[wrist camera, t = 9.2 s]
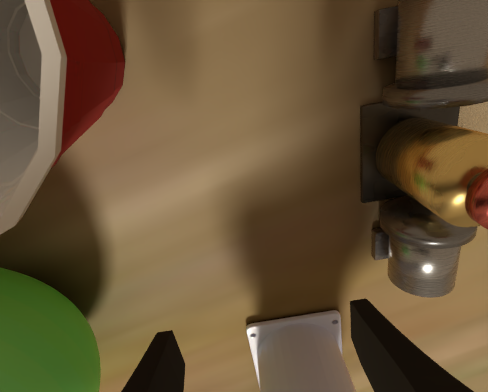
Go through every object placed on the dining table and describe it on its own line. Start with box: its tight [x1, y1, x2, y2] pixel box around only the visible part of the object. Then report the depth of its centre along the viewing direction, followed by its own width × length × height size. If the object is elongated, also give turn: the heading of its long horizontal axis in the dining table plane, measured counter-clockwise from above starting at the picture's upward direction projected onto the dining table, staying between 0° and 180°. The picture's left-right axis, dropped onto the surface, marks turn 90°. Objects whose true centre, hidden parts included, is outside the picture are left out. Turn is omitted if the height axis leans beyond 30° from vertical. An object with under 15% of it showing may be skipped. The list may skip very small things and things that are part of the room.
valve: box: [376, 117, 488, 229], centre depth 15 cm, size 4×4×8 cm
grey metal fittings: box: [360, 0, 488, 297], centre depth 17 cm, size 17×6×5 cm, turn 10°
